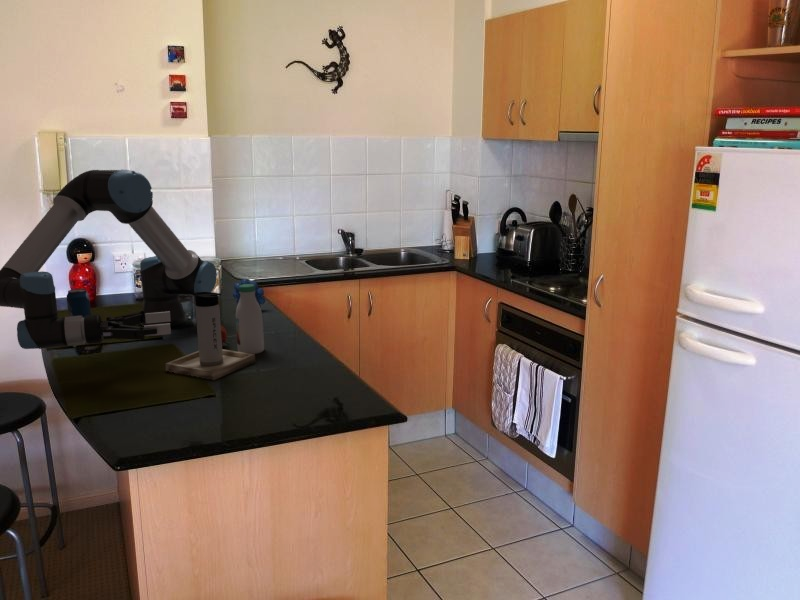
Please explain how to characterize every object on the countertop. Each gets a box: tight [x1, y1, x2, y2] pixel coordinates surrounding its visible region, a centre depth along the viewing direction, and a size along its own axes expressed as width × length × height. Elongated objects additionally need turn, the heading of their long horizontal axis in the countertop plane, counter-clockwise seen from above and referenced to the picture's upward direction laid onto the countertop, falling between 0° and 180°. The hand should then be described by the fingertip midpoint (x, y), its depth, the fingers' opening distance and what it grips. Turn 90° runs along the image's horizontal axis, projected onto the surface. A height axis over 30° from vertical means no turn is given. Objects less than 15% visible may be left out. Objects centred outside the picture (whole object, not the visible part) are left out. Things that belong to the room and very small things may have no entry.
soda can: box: [66, 288, 92, 318], centre depth 243 cm, size 7×7×12 cm
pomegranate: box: [221, 324, 230, 347], centre depth 215 cm, size 7×7×10 cm
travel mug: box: [192, 292, 223, 366], centre depth 196 cm, size 6×7×20 cm
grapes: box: [231, 278, 266, 308], centre depth 257 cm, size 12×7×12 cm, turn 94°
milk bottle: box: [235, 284, 265, 355], centre depth 209 cm, size 8×8×20 cm
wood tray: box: [164, 348, 256, 381], centre depth 198 cm, size 17×17×2 cm
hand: (170, 322), depth 192 cm, fingers open, 13 cm apart
